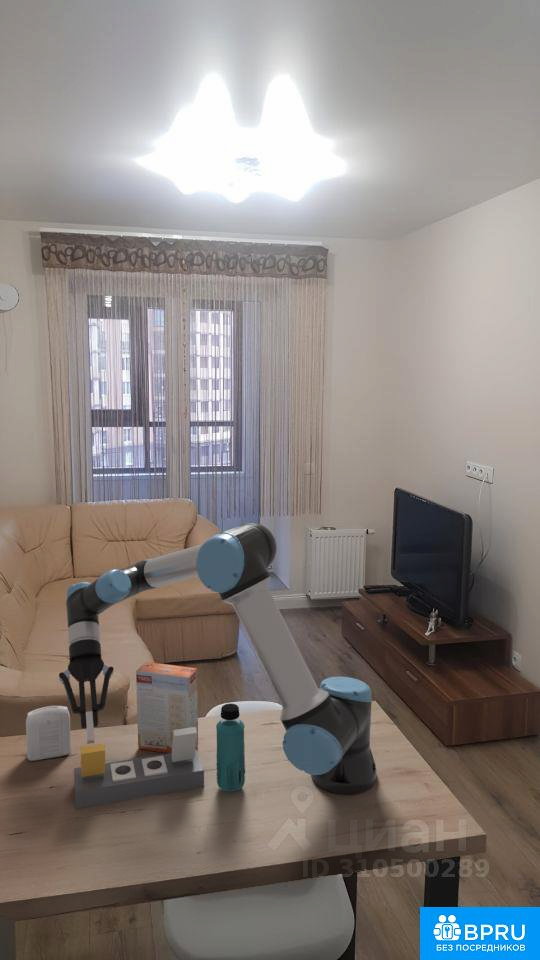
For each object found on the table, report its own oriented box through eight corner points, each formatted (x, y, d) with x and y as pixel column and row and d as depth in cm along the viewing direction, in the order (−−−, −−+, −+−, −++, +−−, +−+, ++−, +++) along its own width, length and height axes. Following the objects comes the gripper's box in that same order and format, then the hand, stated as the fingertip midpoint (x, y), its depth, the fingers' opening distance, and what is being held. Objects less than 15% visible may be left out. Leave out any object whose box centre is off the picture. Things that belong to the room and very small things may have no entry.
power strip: (196, 764, 166) (196, 746, 165) (204, 786, 157) (203, 768, 157) (74, 784, 158) (73, 766, 157) (75, 808, 149) (75, 789, 148)
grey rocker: (192, 755, 161) (195, 726, 156) (194, 761, 160) (196, 732, 155) (171, 759, 160) (173, 730, 155) (172, 765, 159) (174, 736, 153)
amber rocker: (104, 769, 155) (104, 743, 150) (104, 776, 154) (105, 750, 148) (81, 773, 154) (80, 747, 148) (81, 779, 153) (80, 753, 147)
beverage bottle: (241, 800, 153) (241, 715, 149) (212, 796, 154) (211, 712, 150) (248, 782, 159) (248, 701, 155) (220, 778, 160) (219, 698, 157)
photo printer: (70, 746, 173) (68, 699, 171) (72, 755, 169) (70, 708, 167) (26, 754, 170) (24, 707, 167) (27, 763, 166) (24, 715, 163)
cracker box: (199, 745, 174) (198, 667, 170) (189, 758, 168) (188, 677, 165) (148, 736, 178) (146, 659, 174) (137, 749, 172) (135, 669, 169)
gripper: (111, 646, 176) (119, 741, 163) (57, 652, 172) (61, 750, 159) (112, 635, 170) (120, 732, 157) (56, 640, 166) (60, 741, 153)
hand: (90, 741), depth 158 cm, fingers closed
